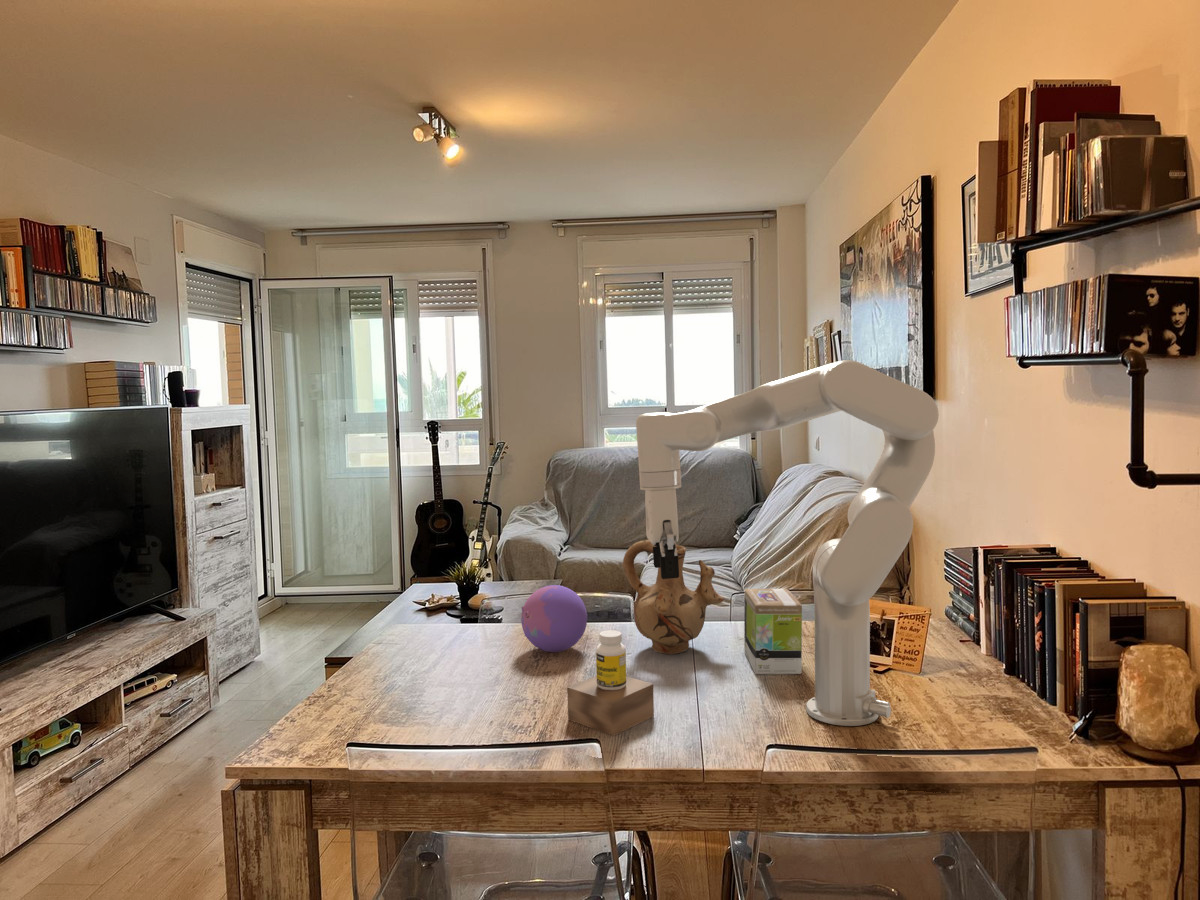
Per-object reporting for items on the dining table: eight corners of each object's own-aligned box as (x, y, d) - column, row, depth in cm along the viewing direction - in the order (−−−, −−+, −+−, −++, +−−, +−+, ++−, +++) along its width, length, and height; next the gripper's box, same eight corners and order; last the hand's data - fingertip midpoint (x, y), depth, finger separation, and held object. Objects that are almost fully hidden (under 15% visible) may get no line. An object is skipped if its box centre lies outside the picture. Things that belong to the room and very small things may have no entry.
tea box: (803, 675, 171) (803, 604, 170) (754, 675, 171) (753, 605, 170) (788, 651, 186) (788, 586, 185) (743, 652, 186) (742, 587, 185)
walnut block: (653, 716, 151) (653, 683, 151) (613, 735, 143) (612, 701, 143) (608, 701, 159) (608, 671, 158) (568, 719, 151) (567, 687, 150)
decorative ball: (513, 646, 194) (511, 583, 193) (572, 637, 201) (570, 575, 200) (535, 665, 181) (533, 597, 180) (598, 654, 187) (597, 588, 186)
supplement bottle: (591, 688, 149) (590, 635, 149) (605, 678, 154) (604, 627, 153) (617, 693, 147) (616, 639, 146) (631, 683, 151) (630, 631, 151)
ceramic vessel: (664, 667, 177) (662, 551, 175) (610, 646, 193) (608, 539, 191) (725, 650, 188) (725, 540, 186) (670, 631, 203) (669, 530, 201)
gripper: (634, 477, 160) (640, 564, 162) (645, 486, 143) (652, 584, 144) (673, 474, 161) (678, 561, 162) (688, 483, 144) (694, 581, 145)
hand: (666, 572), depth 153 cm, fingers open, 9 cm apart
